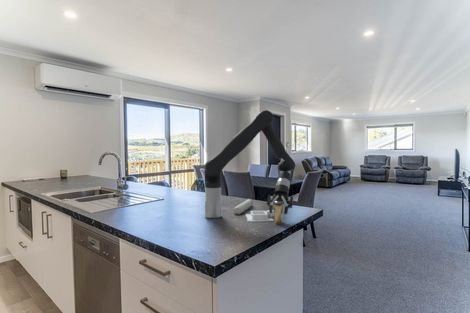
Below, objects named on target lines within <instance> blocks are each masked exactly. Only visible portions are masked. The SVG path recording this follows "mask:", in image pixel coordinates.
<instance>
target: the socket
mask: <svg viewBox="0 0 470 313" xmlns="http://www.w3.org/2000/svg"><path fill="white" fill-rule="evenodd" d="M245 218H246V220H247V222H248V223H251V222H252V223H256V222H257V223H258V222H259V223H260V222H261V223H262V222H274V209H273V210H272V213H270V212H269V209H268V210H250V213H246V214H245Z"/></svg>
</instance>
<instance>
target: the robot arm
mask: <svg viewBox="0 0 470 313" xmlns="http://www.w3.org/2000/svg"><path fill="white" fill-rule="evenodd" d="M273 120H274V115H273V113H272V112H271V111H270V110H267V109H266V110H265V109H264V110H262V111H259V113H257V114H256V116H255V118H254V119H253V120H252V121H251V123H249V124H248V125H247V126H246V127H244V128H243V129H241V130H240V131H239V132H237V133H236V135H234V137H232V138H231V139H230V140H229V141H228V142H227V144H226V145H225V147H223V149H222V150H221V151H220V152H219V153H218V154H217V155H216V156H215V157H213V158H211V159H209V160H208V161H206V163H205V164H204V190H205V191H204V193H205V196H204V198H205V201H204V216H205V217H204V218H205V219H208V218H209V219H217V218H221V217H222V181H221V172H222V171H223V170H224V169H225V167H227V165H228V163H230V161H232V160H233V159H234V158H236V157H237V156H239V155H240V154H241V152H243V151H244V150H245V149H246V148H247V147H248V146H249V144H251V143H252V142H253V140H254V139H255V138H256V137H257V135H259V133H261V132H262V134H263V135H264V137H265V138H266V140H267V142H268V144H269V147H270V149H271V151H272V152H273V155H274V156H275V159H282V160H281V161H280V162H278V164H277V175H278V176H277V181H276V184H275V189H274V194H273V195H270V194H268V195H267V199H266V205H267V207H268V210H269V212H270V213H272V210H274V203H273V201H276V200H280V201H284V203H283V206H284V210H283V215H288V213H289V209H292V208H293V204H294V197H293V196H289V192H290V188H291V187H290V186H291V185H290V184H291V183H290V182H291V177H292V176H291V173H290V172H291V171H294V170H295V169H296V163H295V161H294V159H293V158H292V157H291V155H289V153H288V152H287V151H286V149H285V146H284V145H283V143H282V141H281V139H280V138H279V136H277V134H276V133H275V131H274V129H273V126H272V122H273ZM287 201H289V204H288V203H287Z"/></svg>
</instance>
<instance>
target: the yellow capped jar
mask: <svg viewBox="0 0 470 313" xmlns="http://www.w3.org/2000/svg"><path fill="white" fill-rule="evenodd" d="M272 201H273V200H272ZM273 203H274V206H273V210H274V217H273V220H274V221H273V223H274V224H275V225H282V224H283V223H284V222H283V220H284V219H283V218H284V217H283V216H284V210H283V209H284V204H283V203H284V201H280V200H276V201H273Z"/></svg>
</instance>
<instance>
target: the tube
mask: <svg viewBox="0 0 470 313" xmlns="http://www.w3.org/2000/svg"><path fill="white" fill-rule="evenodd" d="M253 205H254V200H252V199H251V198H247V200H245V201H243V202H241V203H239V204H238V205H235V207H234V208H233V213H234V214H235V215H240V214H242V213H244V212H245V211H247V210H248V209H250V208H251V207H253Z"/></svg>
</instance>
